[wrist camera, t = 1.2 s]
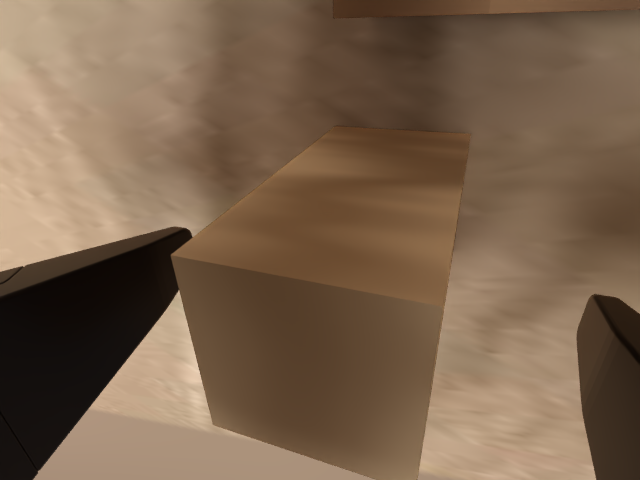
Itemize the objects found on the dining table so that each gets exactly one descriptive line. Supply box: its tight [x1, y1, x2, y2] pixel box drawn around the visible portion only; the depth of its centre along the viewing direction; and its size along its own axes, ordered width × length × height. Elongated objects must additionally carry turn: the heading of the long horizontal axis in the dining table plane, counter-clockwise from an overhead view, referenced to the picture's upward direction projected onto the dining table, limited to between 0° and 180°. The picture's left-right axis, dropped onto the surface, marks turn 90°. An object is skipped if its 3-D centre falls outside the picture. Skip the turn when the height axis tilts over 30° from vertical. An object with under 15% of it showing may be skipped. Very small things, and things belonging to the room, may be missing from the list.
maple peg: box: [171, 126, 471, 480], centre depth 10 cm, size 4×4×8 cm
